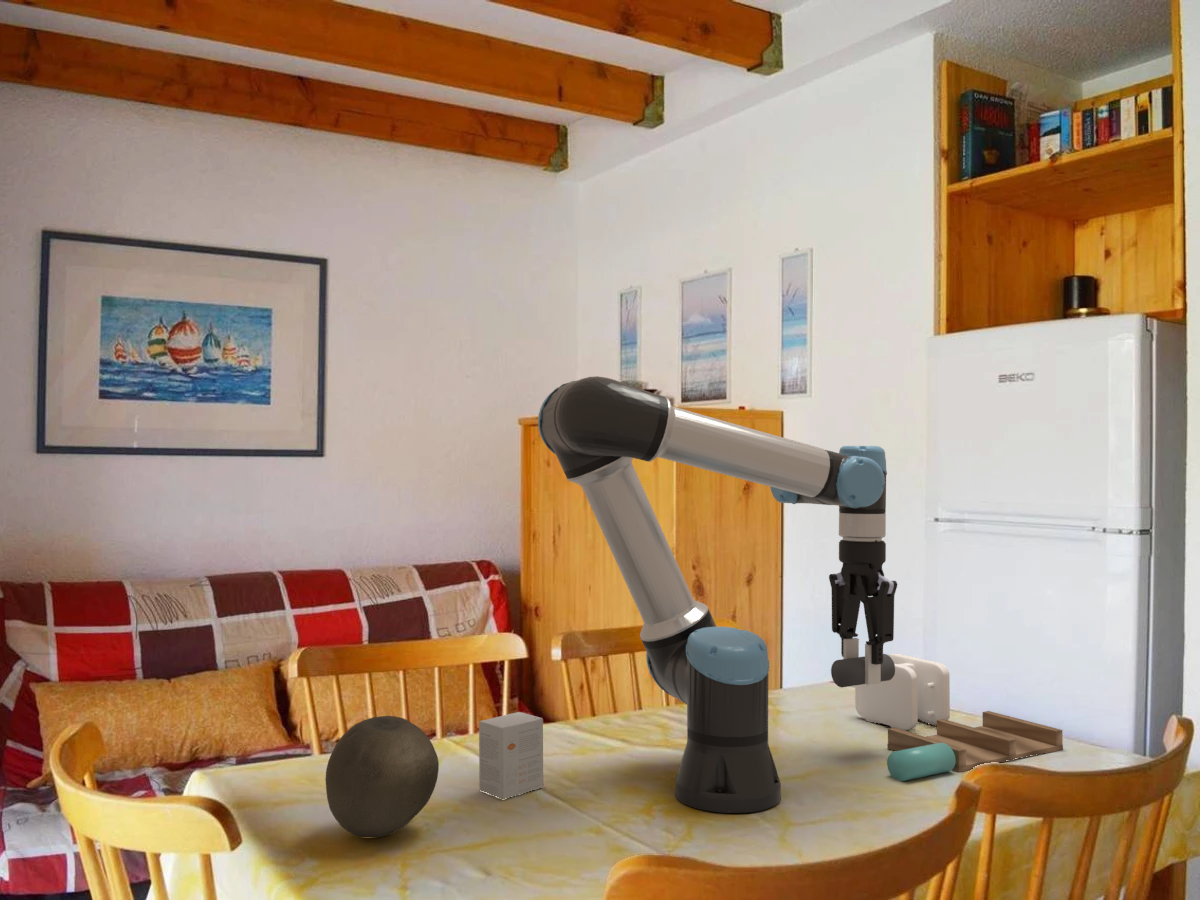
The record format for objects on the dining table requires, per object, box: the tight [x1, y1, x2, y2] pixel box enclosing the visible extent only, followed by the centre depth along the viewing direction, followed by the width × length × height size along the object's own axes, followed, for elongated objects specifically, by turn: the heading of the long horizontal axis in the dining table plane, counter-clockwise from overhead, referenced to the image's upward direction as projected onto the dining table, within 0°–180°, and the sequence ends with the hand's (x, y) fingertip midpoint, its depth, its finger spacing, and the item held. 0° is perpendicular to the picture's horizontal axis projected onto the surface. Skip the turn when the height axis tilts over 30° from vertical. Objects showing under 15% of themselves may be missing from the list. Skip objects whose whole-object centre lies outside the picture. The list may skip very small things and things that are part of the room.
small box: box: [478, 711, 544, 799], centre depth 150 cm, size 8×6×10 cm
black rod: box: [830, 653, 895, 688], centre depth 168 cm, size 10×4×4 cm
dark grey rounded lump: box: [324, 715, 440, 838], centre depth 132 cm, size 14×14×15 cm
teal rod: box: [886, 743, 955, 782], centre depth 157 cm, size 10×4×4 cm, turn 119°
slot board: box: [886, 710, 1064, 773], centre depth 171 cm, size 25×15×3 cm, turn 119°
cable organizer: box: [854, 653, 951, 731], centre depth 189 cm, size 15×11×12 cm
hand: (861, 680), depth 168 cm, fingers closed on black rod, 4 cm apart
